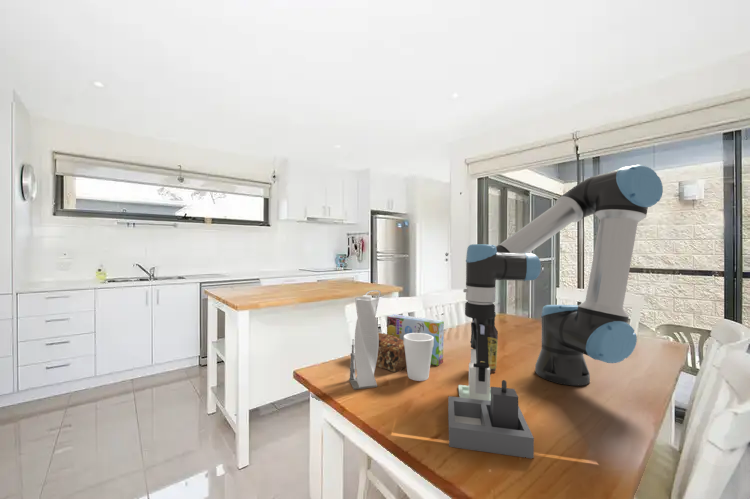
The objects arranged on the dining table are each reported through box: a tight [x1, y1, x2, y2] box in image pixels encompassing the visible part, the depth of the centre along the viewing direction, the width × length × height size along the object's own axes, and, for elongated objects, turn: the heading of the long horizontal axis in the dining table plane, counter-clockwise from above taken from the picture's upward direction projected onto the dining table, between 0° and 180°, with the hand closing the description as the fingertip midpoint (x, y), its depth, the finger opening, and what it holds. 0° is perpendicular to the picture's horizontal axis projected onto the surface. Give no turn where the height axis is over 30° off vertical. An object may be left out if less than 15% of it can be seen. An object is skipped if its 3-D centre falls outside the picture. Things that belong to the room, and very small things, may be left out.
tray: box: [457, 384, 491, 401], centre depth 84 cm, size 10×13×1 cm
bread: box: [376, 331, 407, 373], centre depth 112 cm, size 19×11×10 cm, turn 45°
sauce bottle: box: [482, 312, 499, 374], centre depth 106 cm, size 7×6×20 cm
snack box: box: [386, 313, 445, 366], centre depth 117 cm, size 21×6×15 cm, turn 58°
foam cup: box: [404, 333, 434, 382], centre depth 99 cm, size 10×9×13 cm
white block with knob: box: [468, 361, 491, 401], centre depth 84 cm, size 5×4×12 cm
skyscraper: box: [348, 289, 382, 390], centre depth 94 cm, size 8×8×28 cm
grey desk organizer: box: [447, 379, 535, 459], centre depth 70 cm, size 16×14×12 cm
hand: (477, 382), depth 84 cm, fingers open, 13 cm apart
